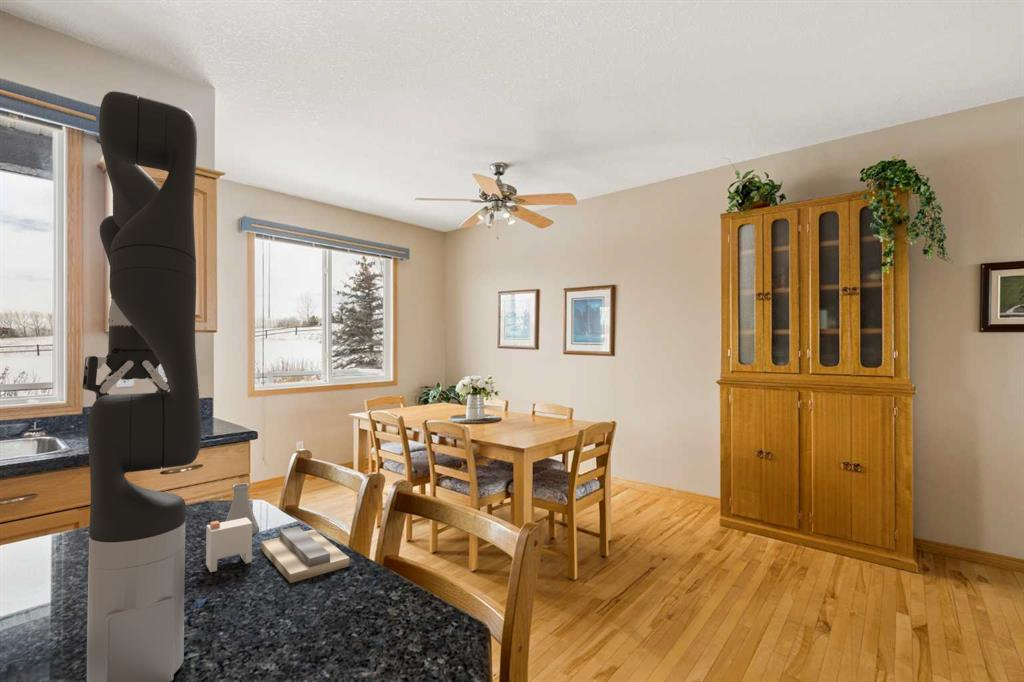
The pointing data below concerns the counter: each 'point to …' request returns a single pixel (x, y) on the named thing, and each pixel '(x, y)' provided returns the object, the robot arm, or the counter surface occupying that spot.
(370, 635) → the counter surface
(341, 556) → the rail board
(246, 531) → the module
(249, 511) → the flask
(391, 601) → the counter surface
